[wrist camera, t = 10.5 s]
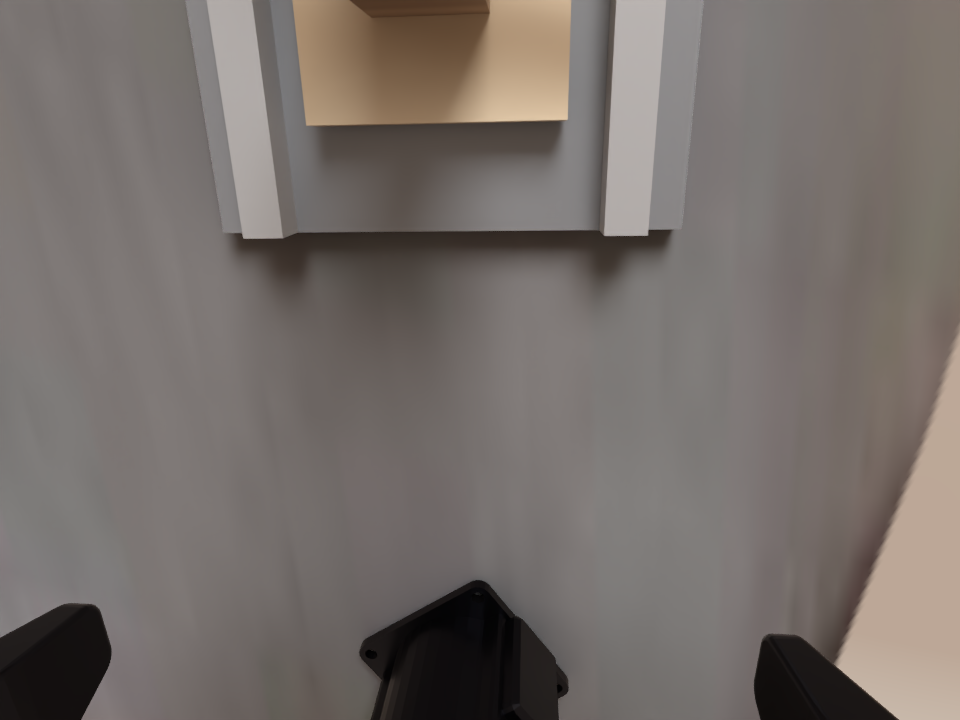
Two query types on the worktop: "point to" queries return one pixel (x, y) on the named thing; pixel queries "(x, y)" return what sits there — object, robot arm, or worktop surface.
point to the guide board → (453, 135)
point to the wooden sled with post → (433, 61)
